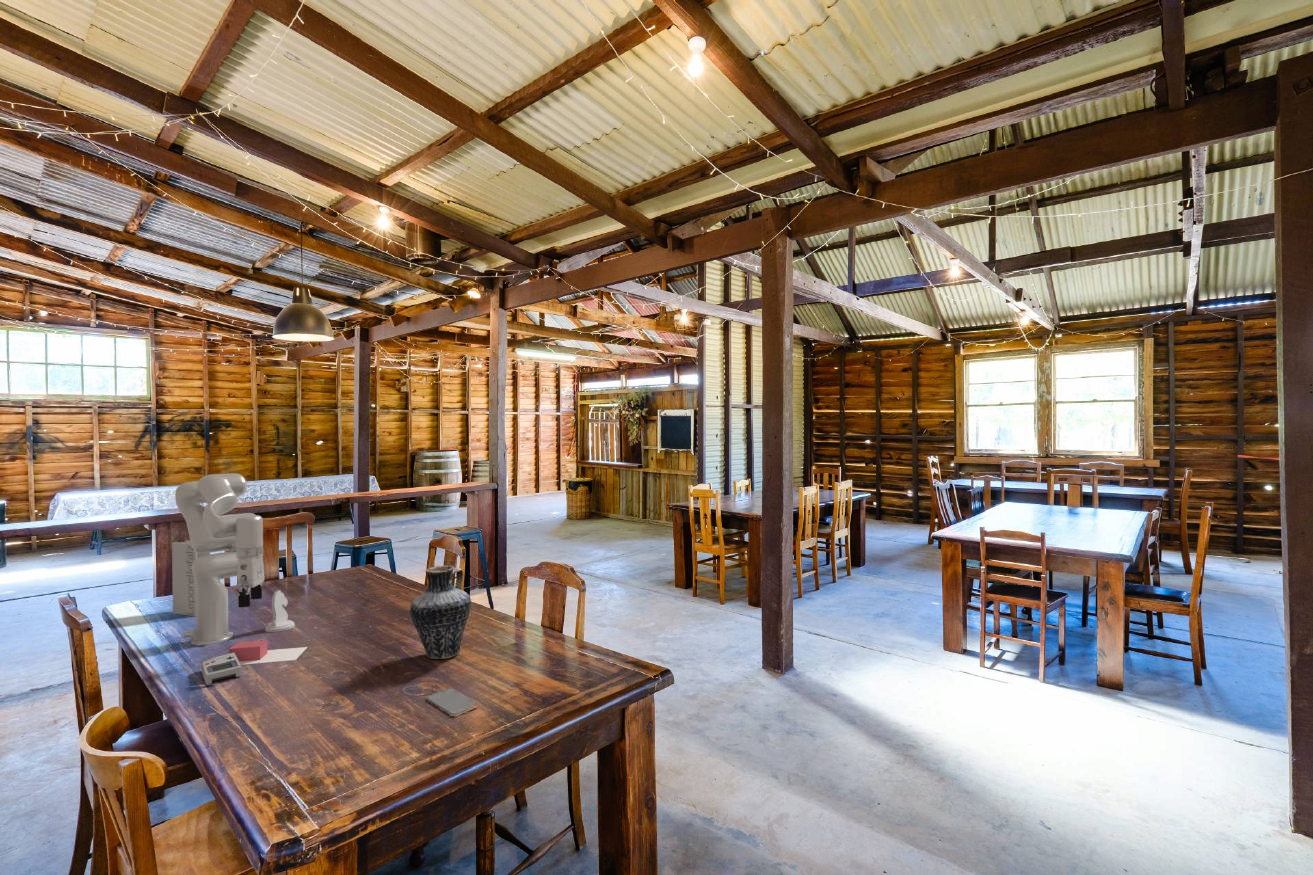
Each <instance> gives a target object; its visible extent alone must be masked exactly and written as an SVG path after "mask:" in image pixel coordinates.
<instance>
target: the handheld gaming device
mask: <svg viewBox="0 0 1313 875" xmlns="http://www.w3.org/2000/svg"><path fill="white" fill-rule="evenodd" d="M200 668H201V673H202V677H203V679H204V683H205V685H211V684H213V681H217V680H220V679H226V678H230V677H233V676H235V678H239V677H242V673H243V672H242V671H243V670H242V665H240V663H239V661H238V659H237V657H236V655H235V653H230V654H229V653H227V654H223V655H218V656H215V657H210V658H207V659H206V660H204V661H203V662H202V663H201V667H200Z"/></svg>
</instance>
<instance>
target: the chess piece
mask: <svg viewBox="0 0 1313 875" xmlns="http://www.w3.org/2000/svg"><path fill="white" fill-rule="evenodd" d="M288 604H289V602H288V598H286V596H285V593H284V592H282V591H281V589H280V590H279V589H277V590H275V591H274V593H273V594H272V597H271V610H272V611H271V612H272V614H273V615H272V616H273V617H272V618H273V619H272V622H269V623H268V624H267V625H266V626H265V628H264V631H265V632H267V633H279V632H283V631H284V630H285V631H289V630H291V629H293V628H295V626H296V624H295V622H294V621H293V620H290V619H288V618H289V617H288V616H289V615H288V612H287V610H285V608H284V607H287V605H288ZM285 631H284V632H285Z"/></svg>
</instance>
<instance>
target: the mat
mask: <svg viewBox="0 0 1313 875" xmlns="http://www.w3.org/2000/svg"><path fill="white" fill-rule="evenodd" d="M307 648H308V646H305V647H291V648H278V649H267V654H266V655H265V656H264V657H263V658H262V659H260V660H252V661H240V662H239V663H240V665H241V666H242V665H253V664H255V665H256V664H265V663H276V662H287V661H296V660H297V659H298V658H299V657H301V655H302V654H303V653H304V652H305V650H307Z"/></svg>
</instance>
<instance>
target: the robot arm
mask: <svg viewBox="0 0 1313 875" xmlns="http://www.w3.org/2000/svg"><path fill="white" fill-rule="evenodd" d="M246 491H247V481H246V479H245V477H244V476H243V475H242V474H240V473H234V472H233V473H231V472H230V473H213V474H207V475H203V476H202V477H201V478H200V479H198V480H195V481H193V480H192V481H187V482H183V483H181V484H180V485H178V486H177V488H176V489H175V493H174V495H175V496H174V497H175V498H174V499H175V504H176V507H177V509H178V510H179V512H180V513H181V515H182V517H183V518H184V521H185V523H186V526H187V527H186V528H187V531H188V534H189V541H191V544H192V547H193V550H194V551H195V552H196V553H210V555H205V556H201V557H199V558H197V559H196V560H195V561H194V562H193V564H192V573H193V577H194V582H195V593H196V616H195V629H192V630H191V629H188V630H184V631H183V637H184V638H192V639H190V644H191V646H195V645H196V647H197V646H198V647H200V646H202V647H203V646H209V645H214V644H219V643H222V642H227V641H229V640H231V639H233V637H234V632H233V631H229V590H228V588H227V586H225V585H224V584H223V583H222V582H221V581H220V580H223V579H227V578H233V577H237V578H236V579H237V580H236V581H237V583H236V587H237V599H238V608H248V607H250V606H251V600H262V599H263V583H264V581H265V565H264V557H263V556H264V522H263V521H264V518H263V517H262V516H261V515H257V514H255V513H252V512H245V513H244V512H243V513H234V514H233V513H232V514H227V513H228V512H230V511H232V510H234V509H235V507H236V506H237V505H238V503H239V502H238V501H239V498H238V497H240V496H242V495H244V494H245V492H246ZM202 504H206V506H203V505H202ZM224 551H226V552H224ZM216 552H218V553H216Z"/></svg>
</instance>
